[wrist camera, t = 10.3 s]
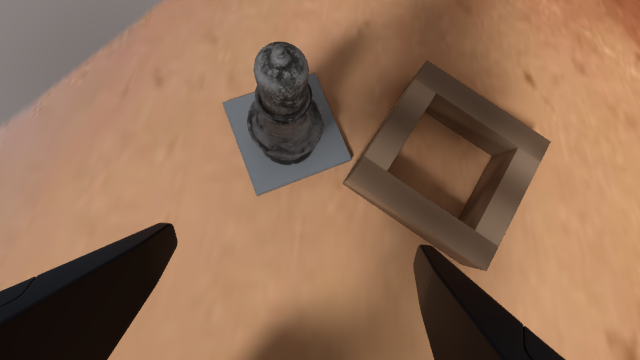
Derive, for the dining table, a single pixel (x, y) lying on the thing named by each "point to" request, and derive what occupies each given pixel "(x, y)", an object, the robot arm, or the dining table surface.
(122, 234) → the dining table surface
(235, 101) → the coaster
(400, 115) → the collar
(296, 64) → the grey chess piece
